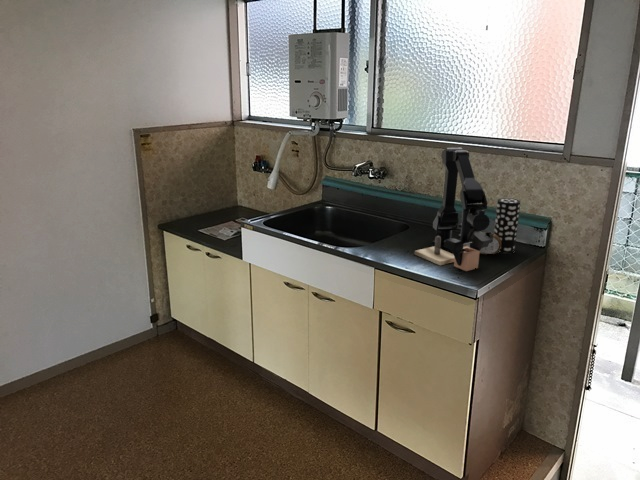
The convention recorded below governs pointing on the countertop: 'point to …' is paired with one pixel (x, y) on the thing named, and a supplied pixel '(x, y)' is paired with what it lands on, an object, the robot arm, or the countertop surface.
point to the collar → (468, 259)
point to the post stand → (436, 253)
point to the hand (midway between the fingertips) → (466, 263)
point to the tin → (490, 246)
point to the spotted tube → (507, 223)
